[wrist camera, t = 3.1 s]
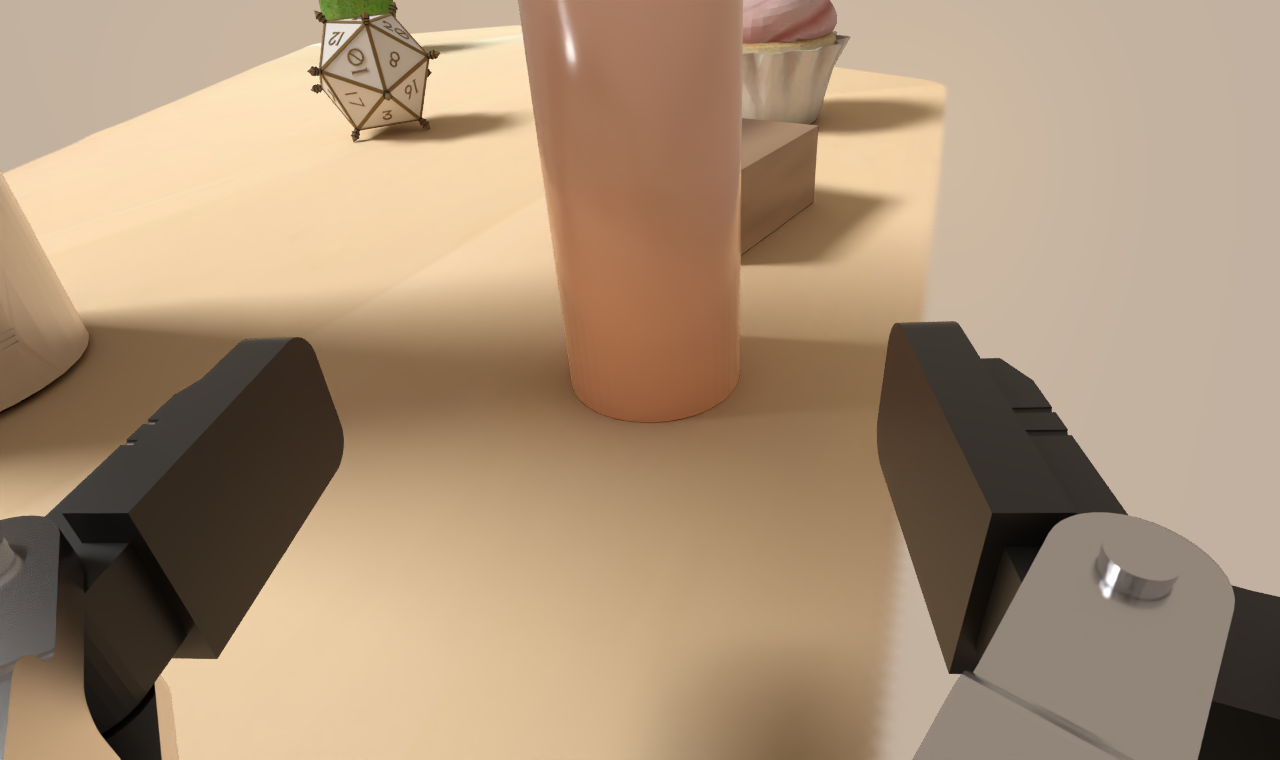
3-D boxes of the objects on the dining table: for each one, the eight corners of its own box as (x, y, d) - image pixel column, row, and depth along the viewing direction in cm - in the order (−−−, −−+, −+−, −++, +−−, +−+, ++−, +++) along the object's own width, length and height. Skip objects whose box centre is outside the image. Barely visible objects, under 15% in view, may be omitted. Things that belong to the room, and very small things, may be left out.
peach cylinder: (537, 389, 22) (466, -19, 16) (636, 318, 26) (608, -40, 20) (679, 444, 19) (657, -22, 14) (769, 356, 23) (783, -46, 17)
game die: (413, 174, 56) (450, 47, 55) (425, 158, 48) (468, 10, 48) (288, 127, 52) (327, -8, 52) (278, 102, 44) (324, -57, 44)
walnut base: (574, 231, 33) (565, 153, 31) (671, 179, 38) (668, 111, 36) (728, 264, 29) (728, 177, 27) (813, 201, 34) (818, 125, 32)
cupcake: (866, 110, 48) (884, -67, 42) (800, 147, 42) (811, -55, 36) (744, 99, 53) (745, -61, 48) (669, 130, 47) (661, -49, 42)
